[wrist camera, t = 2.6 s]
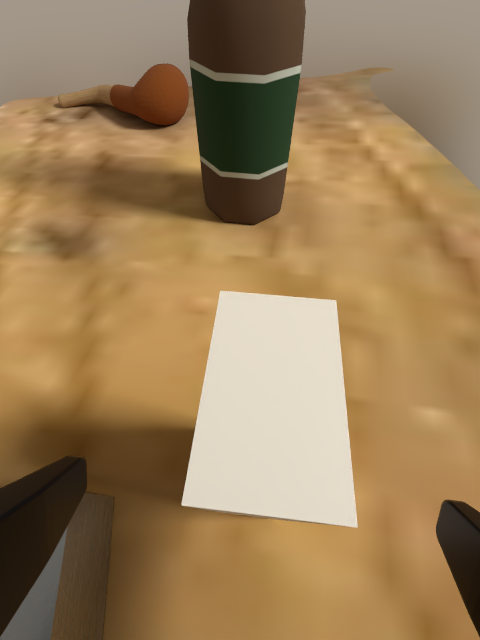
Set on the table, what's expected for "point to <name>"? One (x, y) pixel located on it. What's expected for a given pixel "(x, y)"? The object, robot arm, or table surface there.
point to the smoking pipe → (141, 96)
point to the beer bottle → (245, 100)
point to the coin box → (71, 581)
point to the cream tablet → (273, 414)
